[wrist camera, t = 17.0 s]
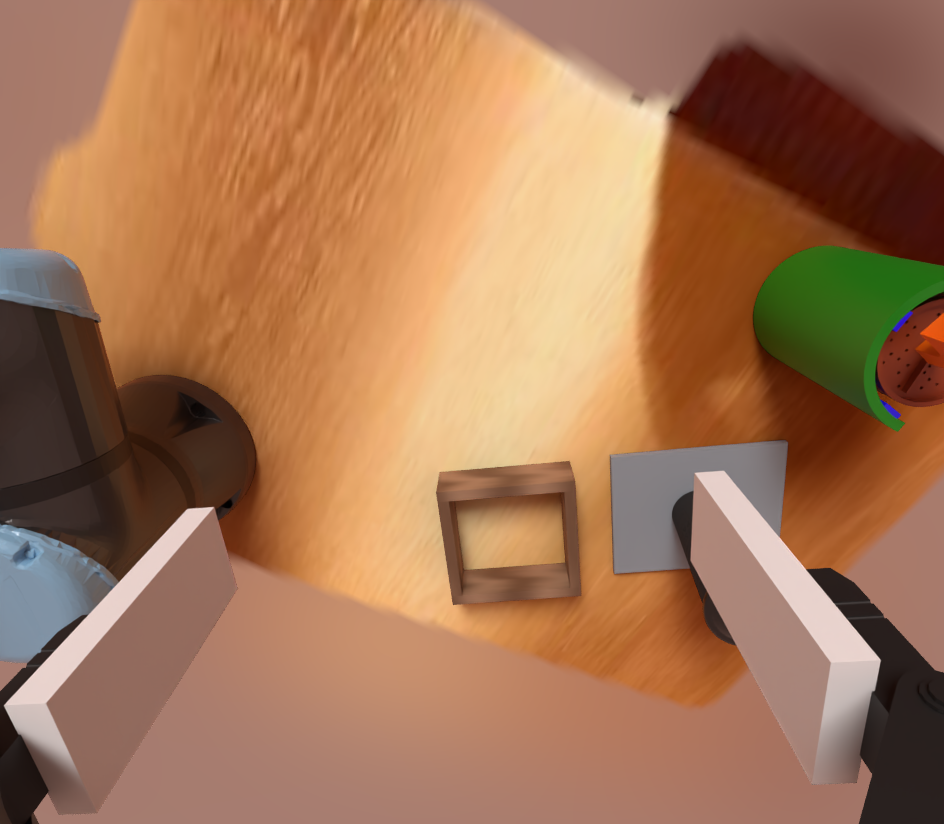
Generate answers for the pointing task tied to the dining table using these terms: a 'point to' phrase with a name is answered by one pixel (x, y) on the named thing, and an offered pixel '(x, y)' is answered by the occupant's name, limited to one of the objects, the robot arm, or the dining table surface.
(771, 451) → the slate mat
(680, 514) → the drinking cup
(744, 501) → the robot arm
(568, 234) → the dining table surface
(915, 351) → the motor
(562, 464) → the walnut collar
